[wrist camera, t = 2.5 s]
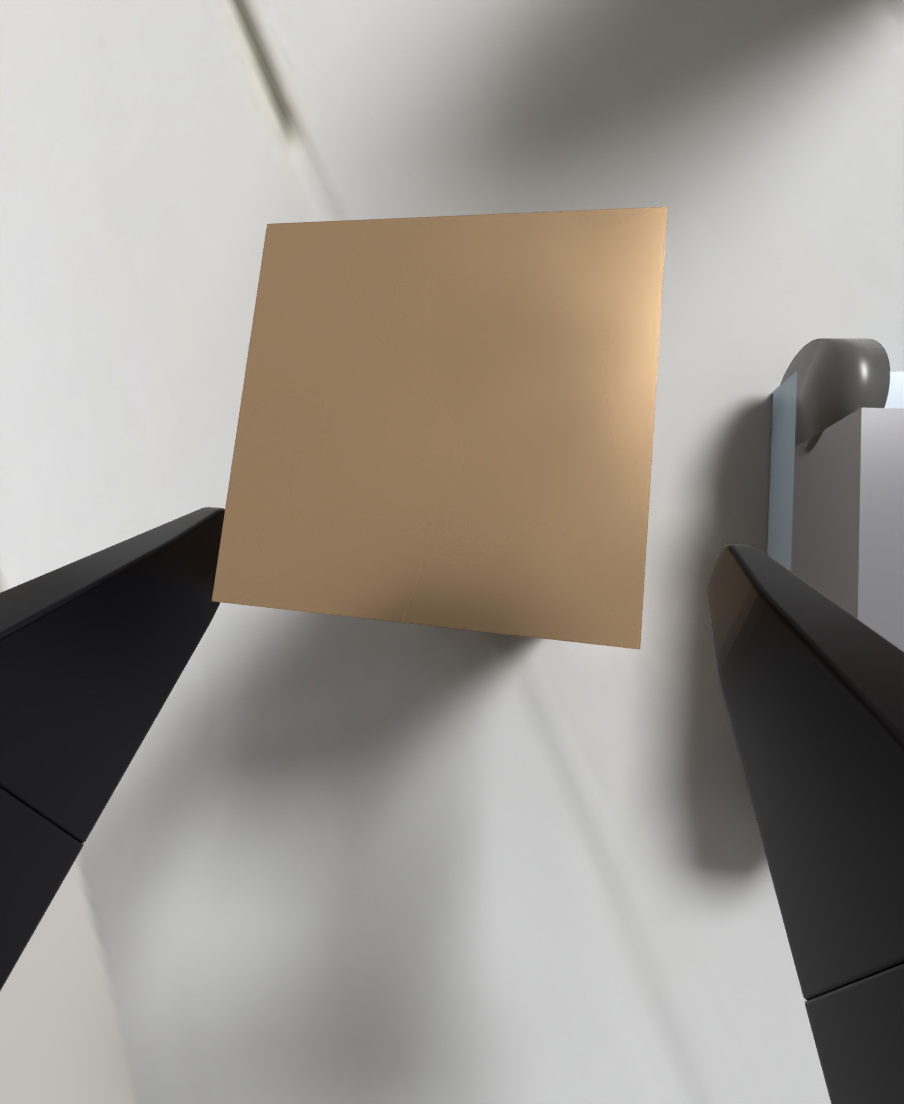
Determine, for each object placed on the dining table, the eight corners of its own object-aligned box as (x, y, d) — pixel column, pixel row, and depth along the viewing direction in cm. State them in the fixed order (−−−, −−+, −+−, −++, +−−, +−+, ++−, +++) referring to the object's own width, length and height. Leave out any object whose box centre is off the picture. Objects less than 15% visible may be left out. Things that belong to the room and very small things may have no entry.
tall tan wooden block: (562, 617, 17) (639, 649, 5) (426, 602, 18) (211, 600, 6) (573, 479, 17) (667, 208, 5) (439, 472, 18) (267, 224, 6)
